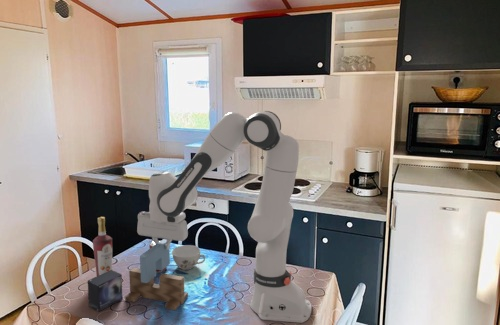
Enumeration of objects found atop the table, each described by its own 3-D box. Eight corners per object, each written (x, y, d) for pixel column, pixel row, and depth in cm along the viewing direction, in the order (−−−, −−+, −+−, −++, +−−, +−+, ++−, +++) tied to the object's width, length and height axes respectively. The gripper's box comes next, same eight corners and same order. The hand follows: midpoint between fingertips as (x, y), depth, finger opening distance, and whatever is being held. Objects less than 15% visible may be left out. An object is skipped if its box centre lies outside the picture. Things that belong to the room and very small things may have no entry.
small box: (99, 312, 131) (97, 285, 129) (87, 307, 135) (86, 280, 133) (123, 299, 140) (122, 273, 138) (112, 294, 144) (111, 269, 142)
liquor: (101, 289, 146) (96, 222, 141) (92, 283, 151) (87, 218, 146) (118, 282, 152) (114, 217, 147) (108, 277, 157) (105, 213, 152)
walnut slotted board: (189, 296, 143) (188, 272, 141) (176, 310, 133) (175, 285, 131) (139, 286, 149) (138, 263, 147) (124, 299, 140) (123, 275, 138)
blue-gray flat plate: (147, 283, 131) (145, 256, 129) (141, 282, 132) (139, 255, 130) (169, 263, 146) (169, 239, 144) (164, 262, 147) (163, 239, 145)
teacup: (167, 272, 162) (167, 254, 160) (178, 259, 174) (178, 243, 173) (200, 275, 159) (200, 258, 158) (209, 263, 171) (209, 246, 170)
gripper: (132, 213, 140) (134, 247, 143) (181, 219, 134) (182, 255, 137) (142, 208, 146) (143, 241, 149) (189, 214, 140) (189, 248, 143)
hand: (162, 248), depth 143 cm, fingers closed on blue-gray flat plate, 2 cm apart
